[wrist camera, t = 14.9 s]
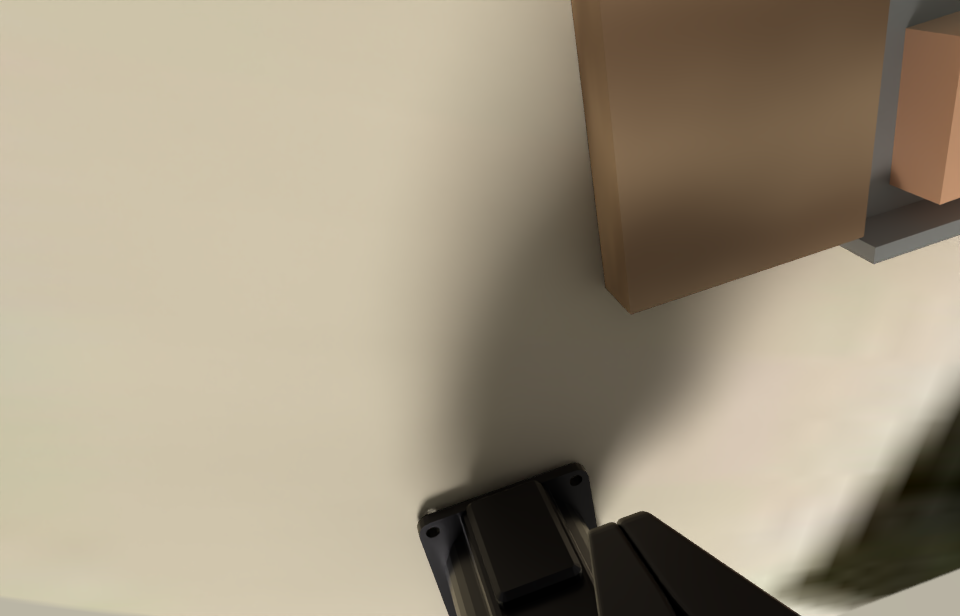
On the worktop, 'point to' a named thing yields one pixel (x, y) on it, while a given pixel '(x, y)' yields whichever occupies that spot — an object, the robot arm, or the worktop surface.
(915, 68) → the terracotta tile
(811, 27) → the walnut step
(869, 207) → the grey tray
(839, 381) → the worktop surface
